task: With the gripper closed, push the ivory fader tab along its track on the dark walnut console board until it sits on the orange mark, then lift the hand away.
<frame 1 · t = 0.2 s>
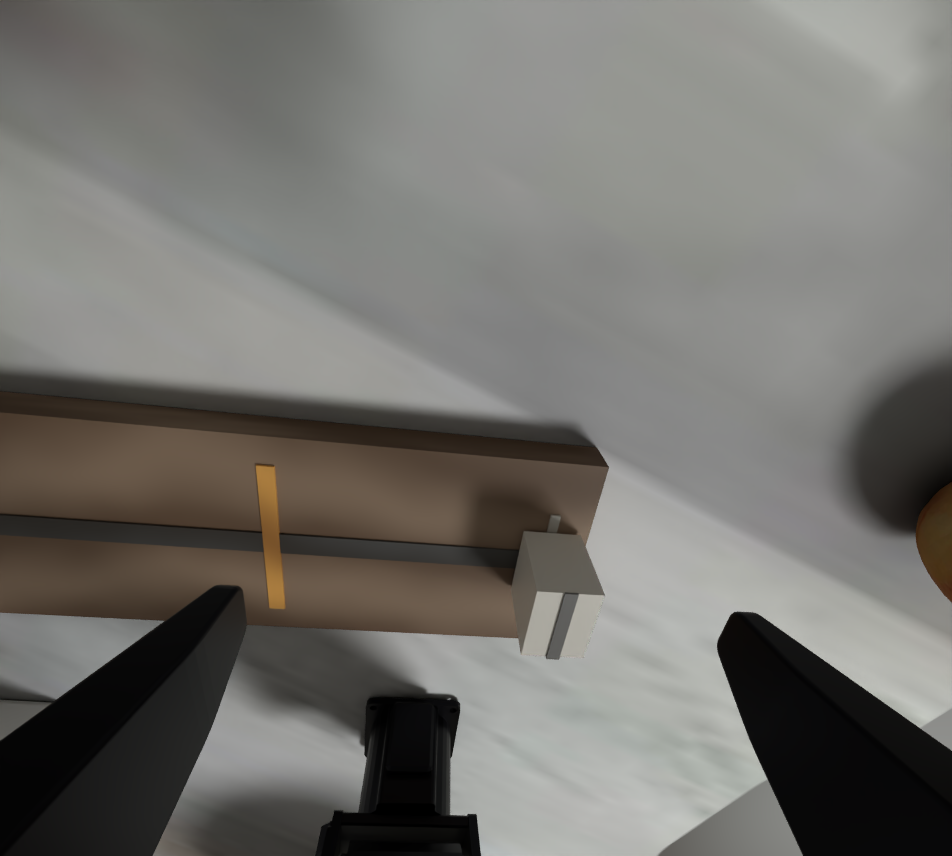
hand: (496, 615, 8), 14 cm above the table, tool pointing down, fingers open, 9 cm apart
medicine bottle: (21, 727, 31), on the table
fader tab: (552, 592, 22), point 4 cm above the table, slide at 0.0 cm
console board: (285, 517, 24), on the table
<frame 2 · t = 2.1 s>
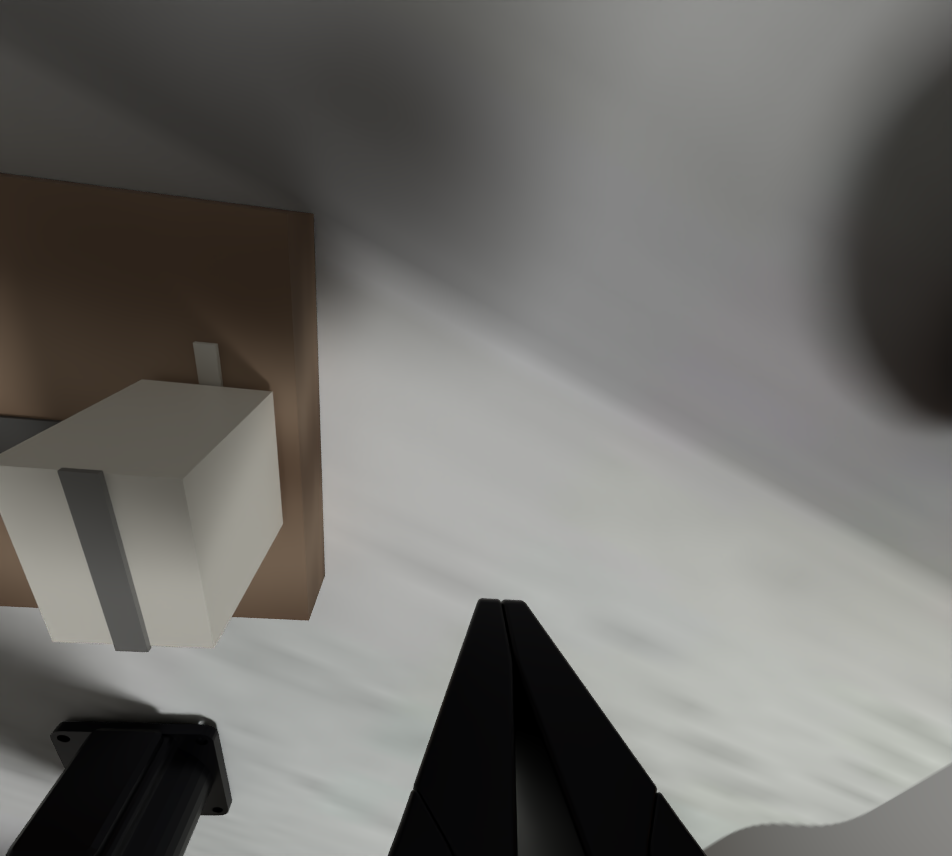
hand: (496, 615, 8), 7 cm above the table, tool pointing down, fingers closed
fader tab: (173, 503, 10), point 4 cm above the table, slide at 0.0 cm
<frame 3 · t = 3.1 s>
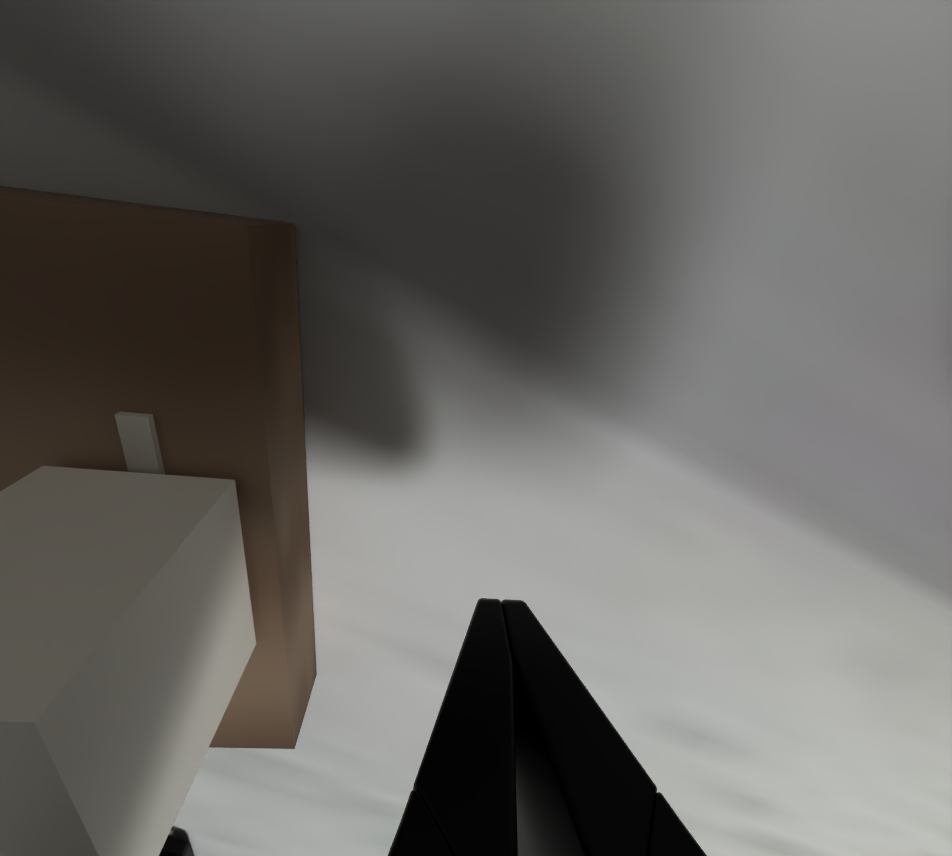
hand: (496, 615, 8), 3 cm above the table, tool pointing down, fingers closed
fader tab: (78, 666, 6), point 4 cm above the table, slide at 0.0 cm
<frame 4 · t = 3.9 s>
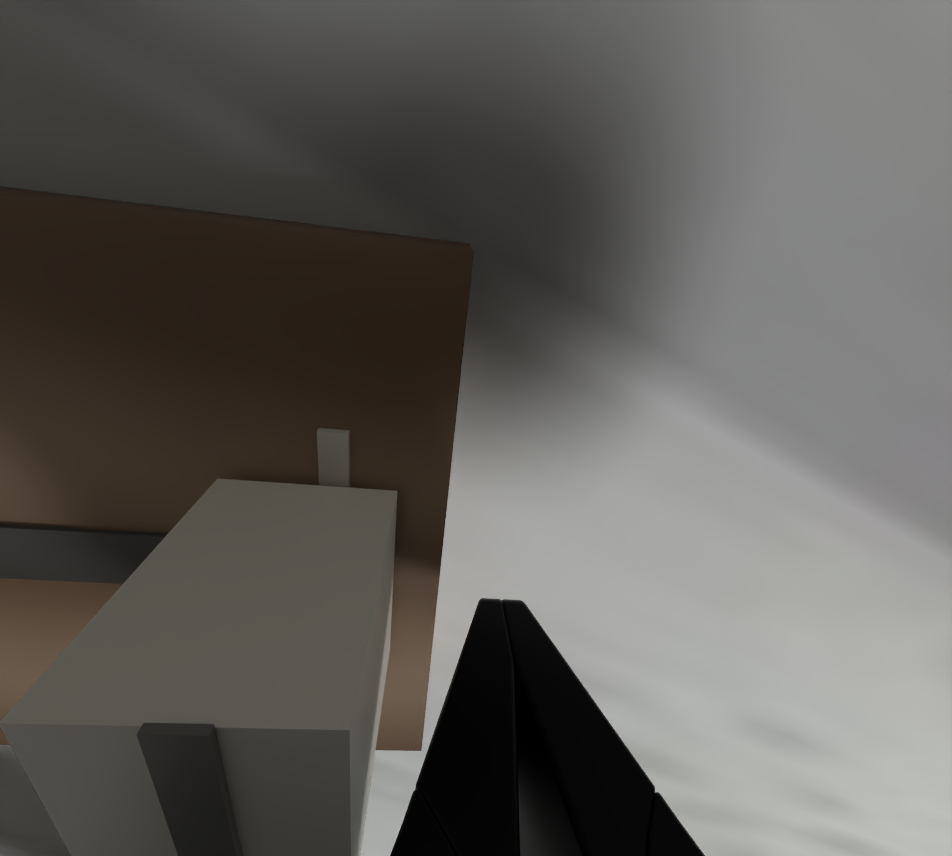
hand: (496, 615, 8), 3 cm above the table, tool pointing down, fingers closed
fader tab: (275, 673, 7), point 4 cm above the table, slide at 0.4 cm, touching gripper
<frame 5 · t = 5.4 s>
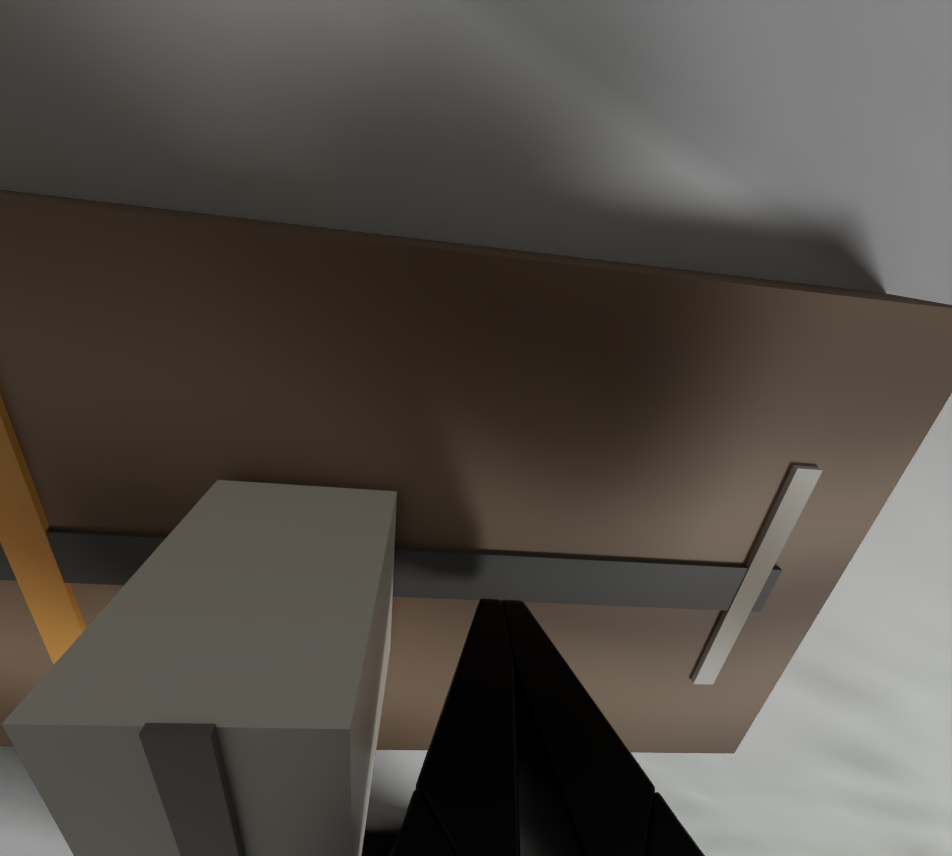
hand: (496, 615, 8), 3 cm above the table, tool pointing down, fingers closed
fader tab: (275, 673, 7), point 4 cm above the table, slide at 9.0 cm, touching gripper
console board: (111, 492, 10), on the table
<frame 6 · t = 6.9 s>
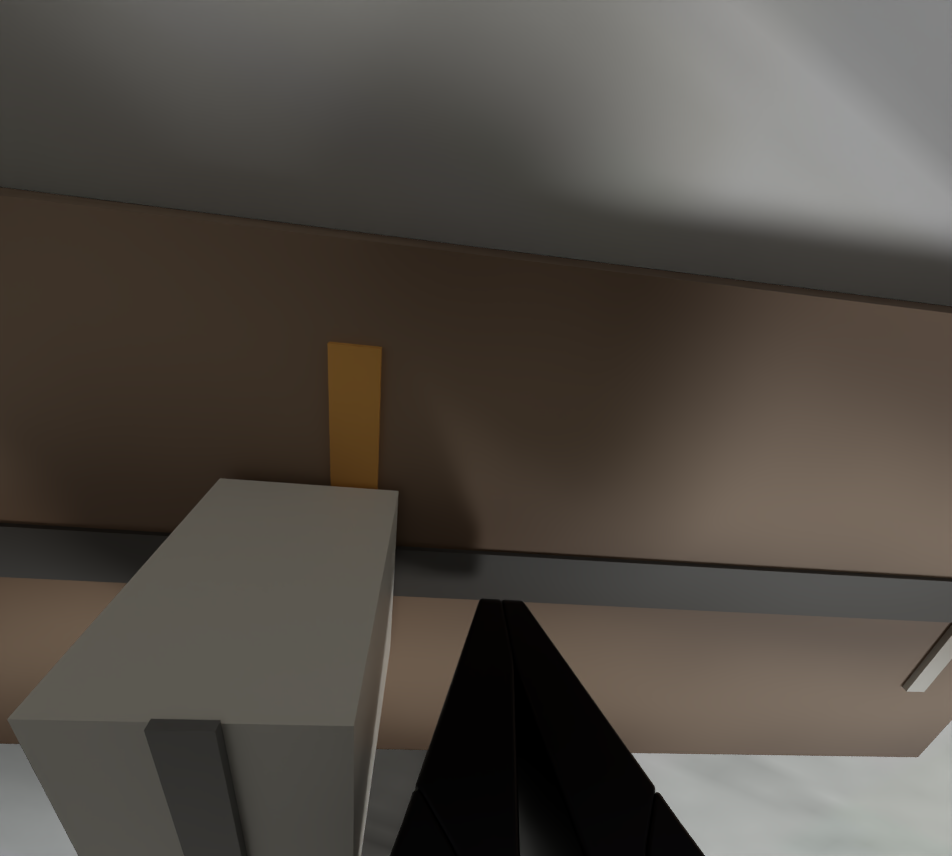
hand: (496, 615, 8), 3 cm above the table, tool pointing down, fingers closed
fader tab: (277, 671, 7), point 4 cm above the table, slide at 14.7 cm, touching gripper
console board: (371, 507, 11), on the table
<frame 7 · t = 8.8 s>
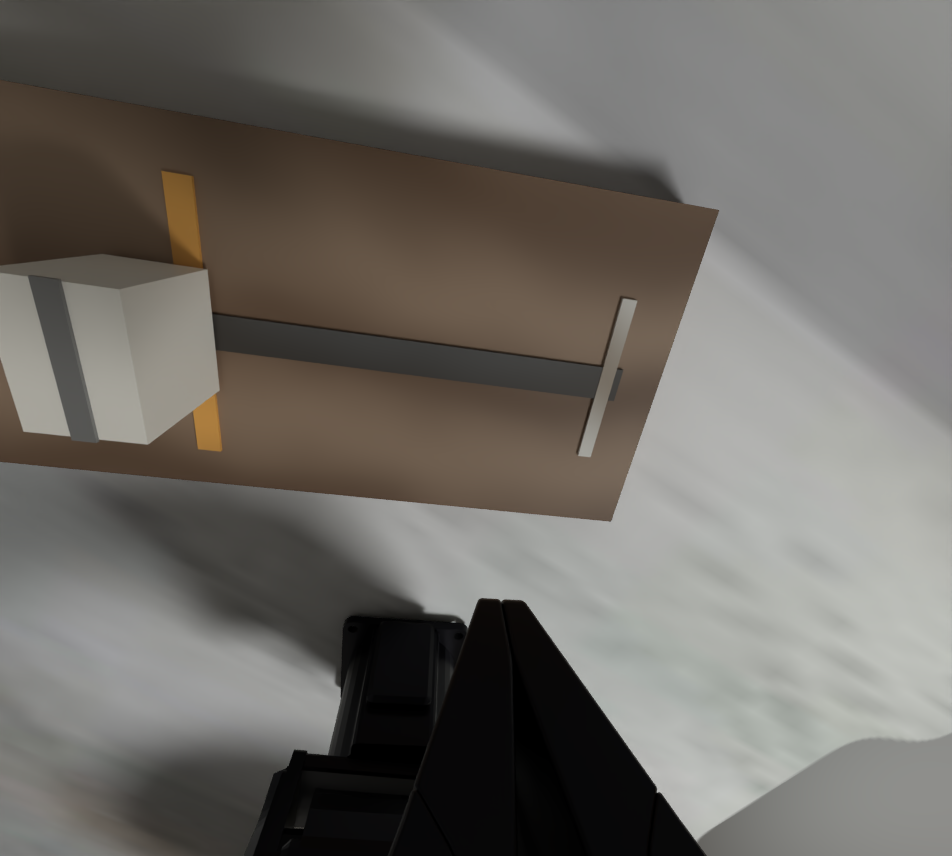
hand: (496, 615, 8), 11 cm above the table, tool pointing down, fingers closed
fader tab: (122, 343, 12), point 4 cm above the table, slide at 14.9 cm
console board: (225, 316, 16), on the table
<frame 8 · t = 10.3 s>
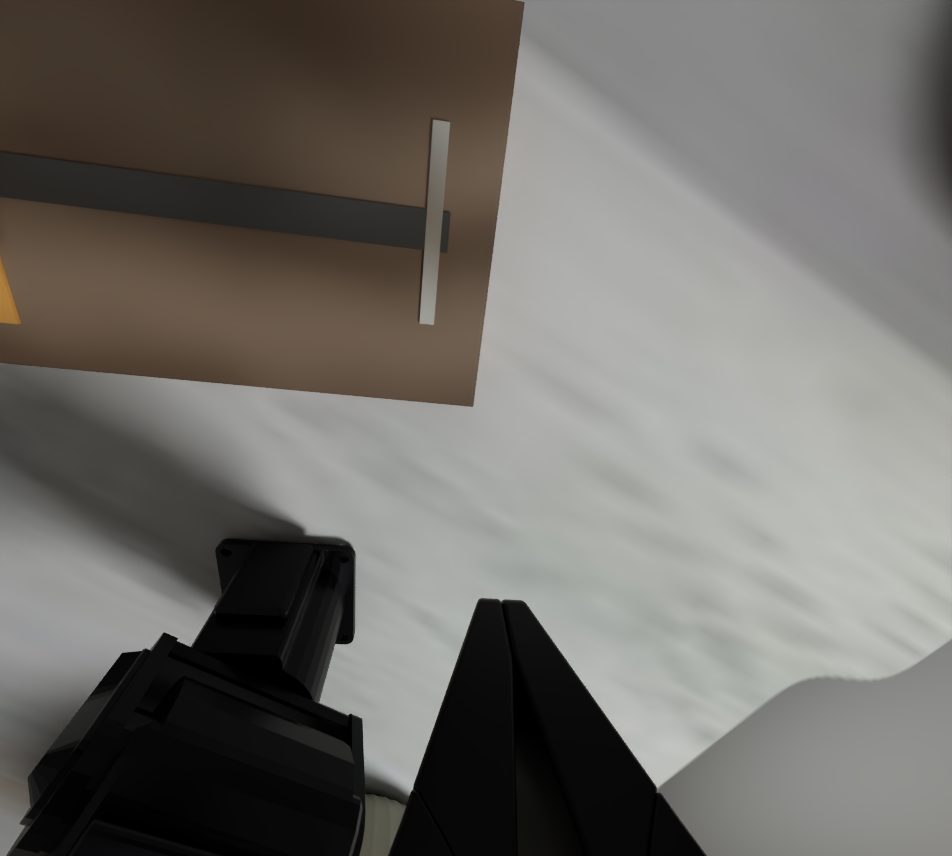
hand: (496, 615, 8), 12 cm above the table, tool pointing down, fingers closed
canister: (351, 824, 34), on the table
console board: (18, 175, 15), on the table
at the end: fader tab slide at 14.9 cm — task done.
